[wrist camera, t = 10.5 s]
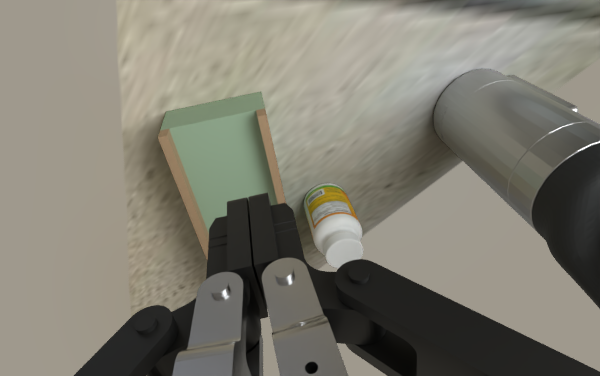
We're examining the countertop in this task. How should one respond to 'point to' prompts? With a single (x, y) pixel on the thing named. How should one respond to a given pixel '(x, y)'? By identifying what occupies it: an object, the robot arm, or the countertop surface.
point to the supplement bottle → (333, 224)
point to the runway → (220, 157)
